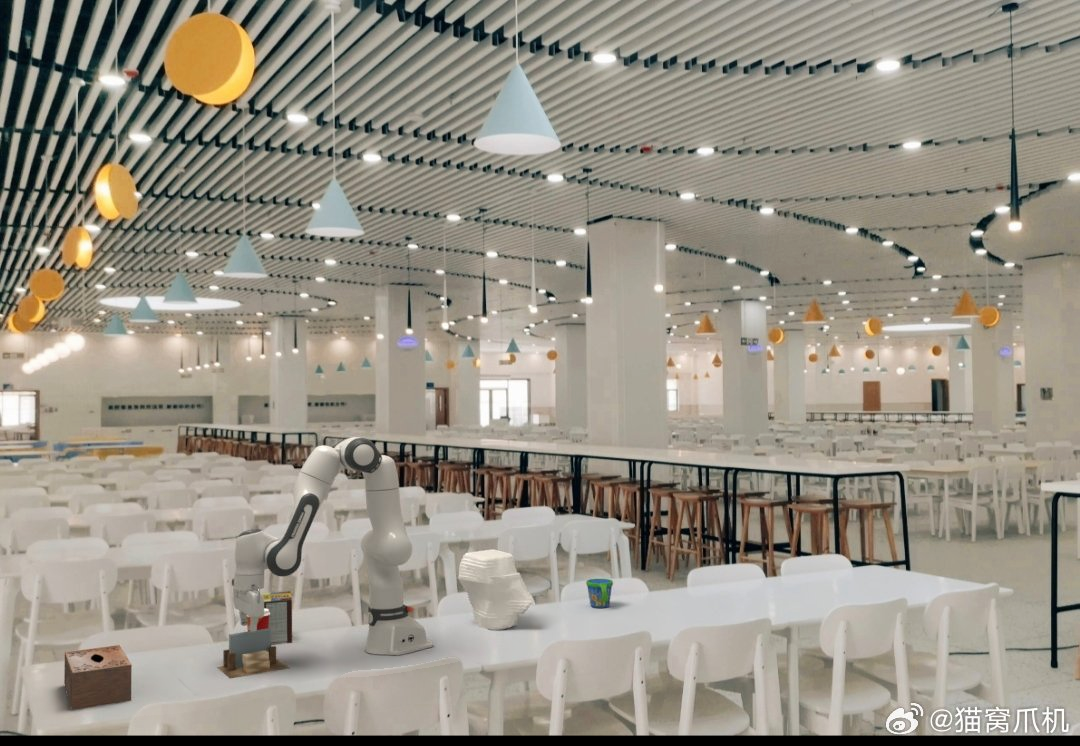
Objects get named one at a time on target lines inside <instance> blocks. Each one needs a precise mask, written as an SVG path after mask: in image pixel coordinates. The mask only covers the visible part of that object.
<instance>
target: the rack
mask: <svg viewBox="0 0 1080 746" xmlns="http://www.w3.org/2000/svg"><path fill="white" fill-rule="evenodd" d="M222 651H223V655H222V657H223V658H222V659H223V660H222V663H223V665H219V666H217V667H216V668H217V669H218V670H220V672H222V673H223V674H224V675H225V676H226V677H228V679H235V678H240V677H248V676H252V675H259V674H265V673H271V672H276V671H282V670H286V669H291V667H290V666H288V665H286V664H285V663H284V662H282V661H281V660H280V659H278V658H277V646H276V645H271V643H270V647H269V661H270V669H268V670H262V671H256V672H250V673H246V672H244V667H241V668H236V653H235V652H234V653H229V648H228V649H223V650H222Z"/></svg>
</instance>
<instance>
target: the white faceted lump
mask: <svg viewBox="0 0 1080 746" xmlns="http://www.w3.org/2000/svg"><path fill="white" fill-rule="evenodd" d="M515 564H516V562H515V557H514V555H513V554H512V553H509V552H507V551H501V550H497V549H493V548H492V549H486V550H485V549H484V550H478V551H477V550H476V551H470V552H465V553H464V554H463V555H462V558H461V561H460V562H459V565H458V566H459V569H458V577H457V579H459V581H460V584H461V585H462V587H463V589H464V591H465V593H467V596H468V597H467V598H468V601H469V603H470V605H471V607H472V613H473V618H474V621H475V624H476V625H477V626H478V627H479V628H482V629H483V628H484V629H487V630H490V631H502V630H505V629H510V628H512V627H514V626H516V625H517V623H518V617H519V615H521V614H525V613H526V612H527V611H528V609H529V608H530V606H531V605H532V603H533V598H532V596H531V594H530V593H529V590H528V587H527V586H526V582H525V581H524V579H523V578H522V575H521V572H518V570H517V568H516V565H515Z"/></svg>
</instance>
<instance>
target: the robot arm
mask: <svg viewBox="0 0 1080 746" xmlns="http://www.w3.org/2000/svg"><path fill="white" fill-rule="evenodd" d="M343 470H348V471H351V472H359V473H360V472H361V473H362V475H363V478H364V483H365V485H364V487H365V488H364V489H365V501H366V502H365V503H366V504H365V506H366V514H367V516H368V518H369V521H370V525H371V528H372V529H371V530H369V531H367V532H365V534H364V535H363V536H362V538H361V541H360V548H361V551H362V554H363V557H364V561H365V566H366V572H367V579H368V587H369V588H368V589H369V591H368V592H369V596H368V598H369V605H368V607H367V608H368V609H367V621H368V622H367V623H368V633H367V640H366V644H365V648H364V651H365V652H366V653H368V654H372V655H389V656H390V655H392V656H402V655H404V654H409V653H412V652H417V651H420V650H421V651H422V650H425V649H428V648H433V647H434V642H433V641H432V640H430V639H429V638H428V637H427V633H426V629H425V627H424V626H423V625H422V624H421V623H420V622H418V621H417V620H416V619H414V618H413V617H411V616H410V615H409V614H412V613H414V611H415V608H414V607H413V606H411V605H406V604H404V580H403V578H402V576H401V573H400V569H399V566H401V565H404V564H406V563H407V562H408V561H409V560H410V559H411V556H412V554H413V545H412V542H411V540H410V539H409V537H408V534H407V531H406V527H405V522H404V519H403V515H402V508H401V494H400V483H399V474H398V470H397V466H396V463H395V459H394V458H392V457H391V456H388V455H385V454H381V452H380V451H379V450H378V448H377V447H376V445H375V444H374V442H373V441H371V440H370V439H368V438H364V437H360V436H353V437H352V436H351V437H345V438H344V439H342V440H340V441H339V442H337V443H336V444H334V445H333V446H330V445H329V446H328V445H324V444H323V445H318V446H316V447H315V448H314V449H313V450H312V451H311V453H310V454H309V456H308V457H307V459H306V460H305V462H304V463H303V465H302V467H301V469H300V471H299V473H298V475H297V478H296V480H295V483H294V486H293V489H292V497H293V500H294V508H293V512H292V513H293V514H292V517H291V518H290V521H289V523H288V525H287V527H286V530H285V532H284V533H283V537H282V538H280V537H276V536H274V535H271V534H269V533H267V532H265V531H264V530H262V529H260V528H257V529H256V528H255V529H249V530H245V531H243V532H241V533H240V534H239V535H238V536H237V538H236V542H235V551H234V562H235V570H234V577H233V578H231V586H232V590H233V591H232V596H233V597H232V598H233V606H234V608H235V609H236V610H238V613H239V618H240V625H241V626H243V627H244V626H246V627H247V624H248V623H247V622H248V620H247V615H248V616H249V617H250V620H251V623H250V626H249V627H250V628H249V630H250V631H252V632H253V631H256V630H257V623H258V618H262V617H263V616H264V596H263V593H264V592H263V591H261V590H262V589H265V570H269V571H270V572H271V573H272V574H273V575H275V576H277V577H288V576H291V575H293V574H294V573H296V572H297V570H298V569H299V568H300V566H301V562H302V553H303V552H302V551H303V546H304V542H305V540H306V537H307V535H308V532H309V531H310V528H311V526H312V524H313V521H314V519H315V517H316V514H317V513H318V511H319V509H320V508H321V506H322V504H323V503H324V501H325V500H326V497H327V496H328V494H329V493H330V490H331V489H332V486H333V484H334V482H335V480H336V478H337V476H338V475H339V473H340V472H342V471H343Z"/></svg>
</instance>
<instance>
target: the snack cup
mask: <svg viewBox="0 0 1080 746" xmlns="http://www.w3.org/2000/svg"><path fill="white" fill-rule="evenodd" d="M613 581H614V580H612V579H608V578H589V579H587V580H586V581H585V582H586V583H585V584H586V586H587V592H588V599H589V604H590V607H592V608H594V609H595V608H597V609H605V608H608V607H610V604H611V603H610V602H611V594H612V589H613V588H612V587H613V585H614V582H613Z"/></svg>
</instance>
